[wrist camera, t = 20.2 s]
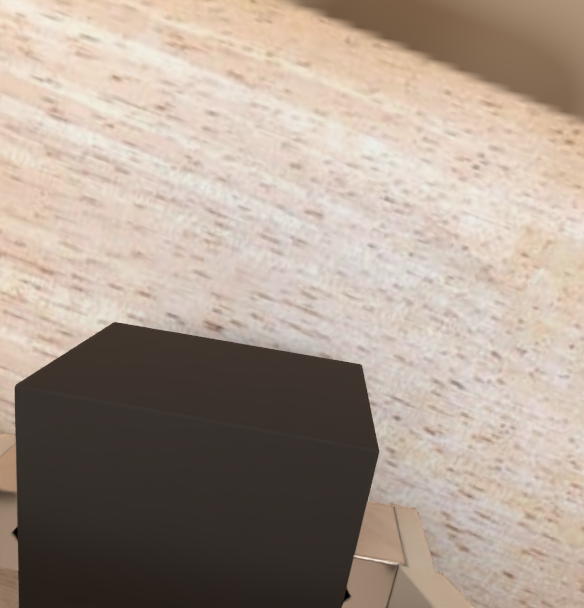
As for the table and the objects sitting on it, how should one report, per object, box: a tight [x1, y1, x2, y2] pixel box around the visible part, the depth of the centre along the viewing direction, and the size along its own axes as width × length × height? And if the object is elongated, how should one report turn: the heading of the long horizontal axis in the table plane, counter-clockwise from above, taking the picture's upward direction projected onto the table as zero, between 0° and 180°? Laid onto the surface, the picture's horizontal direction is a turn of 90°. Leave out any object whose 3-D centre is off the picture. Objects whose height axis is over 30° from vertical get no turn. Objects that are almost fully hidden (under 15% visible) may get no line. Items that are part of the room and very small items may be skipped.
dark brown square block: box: [15, 322, 379, 608], centre depth 9 cm, size 6×6×4 cm
